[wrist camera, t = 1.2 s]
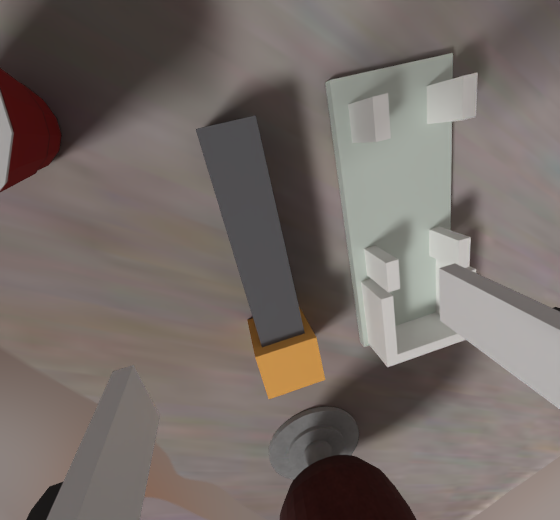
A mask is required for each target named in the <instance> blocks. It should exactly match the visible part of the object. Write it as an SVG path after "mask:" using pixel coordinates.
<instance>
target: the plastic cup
mask: <svg viewBox="0 0 560 520" xmlns="http://www.w3.org/2000/svg"><path fill="white" fill-rule="evenodd" d="M60 142H61V132H60V129H59V125H58V122H57V118H56V117H55V116H54V114H53V113H52V111H51V110H50V108H49V107H48V106H47V104H46V103H45V102H44V101H43V99H42V98H40V97H39V96H38V95H36V94H35V93H34V92H32V91H31V90H30V89H28V88H27V87H26V86H25V85H23V84H21V83H20V82H18V81H17V80H15V79H14V78H13V77H12V76H10V75H9V74H8V73H6V72H5V71H4V70H2V69H1V68H0V192H2V191H3V190H5V189H7V188H9V187H11V186H13V185H15V184H17V183H18V182H20V181H22V180H24V179H26V178H28V177H30V176H32V175H33V174H35V173H36V172H37V170H39V169H41V168H44V167H46V166H48V165H49V164H50V163H51V161H52V160H53V158H54V157H55V156H56V154H57V153H58V152H59V149H60Z"/></svg>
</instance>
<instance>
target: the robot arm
mask: <svg viewBox="0 0 560 520" xmlns="http://www.w3.org/2000/svg"><path fill="white" fill-rule="evenodd" d="M439 297H440V321H441V322H443V323H444V324H445V325H447V326H448V327H449V328H451V329H452V330H453V331H455V332H456V333H458V334H459V335H460V336H462V337H463V338H464V339H466V340H467V341H468V342H470V343H471V344H472V345H474V346H475V347H476V348H478V349H479V350H480V351H482V352H483V353H485V354H486V355H487V356H489V357H490V358H491V359H493V360H494V361H495V362H497V363H498V364H499V365H501V366H502V367H503V368H505V369H506V370H507V371H509V372H510V373H512V374H513V375H514V376H516V377H517V378H518V379H520V380H521V381H522V382H524V383H525V384H526V385H528V386H529V387H530V388H532V389H533V390H534V391H536V392H537V393H539V394H540V395H541V396H543V397H544V398H545V399H547V400H548V401H549V402H551V403H552V404H553V405H555V406H556V407H557V408H559V409H560V308H557V307H554V308H551V307H549V306H547V305H544V304H542V303H540V302H538V301H536V300H533V299H531V298H529V297H527V296H525V295H523V294H520V293H518V292H516V291H514V290H512V289H510V288H507V287H505V286H503V285H501V284H499V283H497V282H494V281H492V280H490V279H488V278H486V277H483V276H481V275H479V274H477V273H475V272H473V271H470V270H468V269H466V268H464V267H462V266H460V265H457V264H455V263H454V264H451V265H448V266H445V267H441V268H439ZM159 419H160V414H159V412H158V411H157V409H156V407H155V405H154V403H153V401H152V399H151V397H150V395H149V394H148V392H147V390H146V388H145V386H144V384H143V382H142V380H141V378H140V377H139V375H138V373H137V371H136V369H135V367H134V365H132V366H129V367H126V368H122V369H119V370H116V371H113V372H112V375H111V377H110V379H109V381H108V384H107V386H106V388H105V390H104V392H103V395H102V397H101V399H100V401H99V404H98V406H97V408H96V410H95V413H94V415H93V417H92V419H91V422H90V424H89V426H88V428H87V431H86V433H85V435H84V437H83V439H82V442H81V444H80V446H79V448H78V450H77V453H76V455H75V457H74V459H73V462H72V464H71V466H70V469H69V470H68V473H67V475H66V477H65V479H64V482H61V483H59V484H56V485H53V486H50V487H49V488H48V489H47V490H46V492H45V493H44V494H43V496H42V497H41V498H40V499H39V501H38V502H37V503H36V505H35V506H34V507H33V508H32V510H31V512H30V513H29V516H28V518H27V520H140V516H141V511H142V505H143V500H144V495H145V490H146V484H147V480H148V475H149V469H150V464H151V459H152V454H153V449H154V444H155V439H156V434H157V429H158V424H159Z"/></svg>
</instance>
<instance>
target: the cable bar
mask: <svg viewBox="0 0 560 520" xmlns="http://www.w3.org/2000/svg"><path fill="white" fill-rule="evenodd" d="M196 132H197V135H198V138H199V142H200V145H201V148H202V152H203V155H204V158H205V161H206V165H207V168H208V171H209V175H210V178H211V181H212V184H213V188H214V191H215V194H216V198H217V201H218V204H219V208H220V211H221V214H222V217H223V221H224V224H225V227H226V231H227V234H228V237H229V240H230V244H231V247H232V250H233V254H234V257H235V260H236V263H237V267H238V270H239V273H240V277H241V280H242V283H243V286H244V290H245V293H246V296H247V300H248V303H249V306H250V309H251V313H252V316H253V318H252V319H248V325H249V330H250V334H251V339H252V344H253V348H254V353H255V358H256V361H257V364H258V367H259V370H260V373H261V376H262V380H263V383H264V386H265V389H266V392H267V395H268V398H269V399H271V398H274V397H277V396H280V395H283V394H286V393H288V392H291V391H294V390H297V389H300V388H303V387H306V386H309V385H311V384H314V383H317V382H320V381H323V380H325V377H324V372H323V367H322V362H321V357H320V353H319V348H318V343H317V338H316V336H315V334H314V332H313V330H312V329H311V327H310V325H309V323H308V321H307V320H306V318H305V316H304V314H303V312H302V311H301V309H300V307H299V305H298V301H297V296H296V292H295V288H294V283H293V279H292V274H291V270H290V266H289V261H288V257H287V252H286V248H285V243H284V239H283V235H282V230H281V226H280V221H279V217H278V212H277V208H276V204H275V199H274V195H273V190H272V186H271V181H270V177H269V173H268V168H267V164H266V159H265V155H264V150H263V146H262V142H261V137H260V133H259V128H258V124H257V120H256V115H255V116H251V117H246V118H242V119H238V120H233V121H229V122H225V123H220V124H216V125H211V126H207V127H203V128H198V129H196Z"/></svg>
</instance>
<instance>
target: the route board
mask: <svg viewBox="0 0 560 520" xmlns="http://www.w3.org/2000/svg"><path fill="white" fill-rule="evenodd" d="M477 79H478V72H477V73H473V74H468V75H464V76H460V77H457V78H453V53H450V54H445V55H441V56H436V57H432V58H427V59H423V60H418V61H414V62H409V63H405V64H400V65H396V66H391V67H387V68H382V69H378V70H373V71H369V72H364V73H359V74H355V75H350V76H346V77H341V78H337V79H332V80H329V81H327V82H325V86H326V93H327V100H328V108H329V115H330V122H331V130H332V137H333V145H334V152H335V159H336V167H337V174H338V181H339V189H340V196H341V204H342V211H343V218H344V226H345V233H346V240H347V248H348V255H349V263H350V270H351V277H352V285H353V292H354V299H355V307H356V314H357V322H358V329H359V336H360V342H361V344H362V345H363V346H364V347H366V346H369V345H370V346H371V347H372V349H373V350H374V351H375V352H376V354H377V355H378V356H379V357H380V359H381V360H382V361H383V362H384V364H385V365H386V366H387V367H390V366H393V365H396V364H398V363H401V362H404V361H407V360H410V359H413V358H415V357H418V356H421V355H424V354H427V353H430V352H432V351H435V350H438V349H441V348H444V347H447V346H449V345H452V344H455V343H458V342H461V341H464V340H466V339H464V338H463V337H462V336H460V335H459V334H458V333H456V332H455V331H453V330H452V329H451V328H449V327H448V326H447V325H445V324H444V323H443V322H441V321H440V297H439V268H441V267H445V266H448V265H451V264H454V263H455V264H457V265H460V266H462V267H464V268H466V269H468V270H470V271H473V272H475V273H476V269H475V268H473V267H471V266H470V242H471V237H469V236H466V235H463V234H460V233H457V232H454V231H451V158H452V121H461V120H466V119H470V118H473V117H476V102H477Z"/></svg>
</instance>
